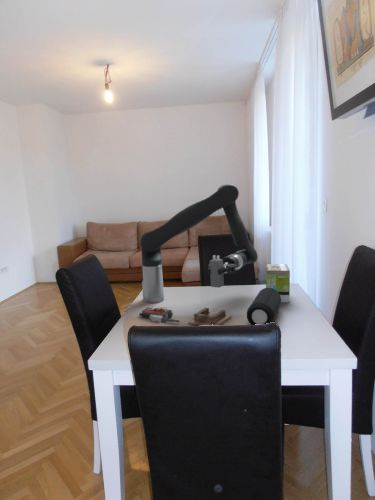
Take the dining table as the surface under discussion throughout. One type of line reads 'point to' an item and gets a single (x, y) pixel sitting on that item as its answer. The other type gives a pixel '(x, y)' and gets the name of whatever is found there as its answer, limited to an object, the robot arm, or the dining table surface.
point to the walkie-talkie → (157, 314)
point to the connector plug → (216, 272)
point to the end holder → (209, 318)
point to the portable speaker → (264, 307)
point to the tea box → (279, 280)
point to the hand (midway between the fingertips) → (213, 271)
